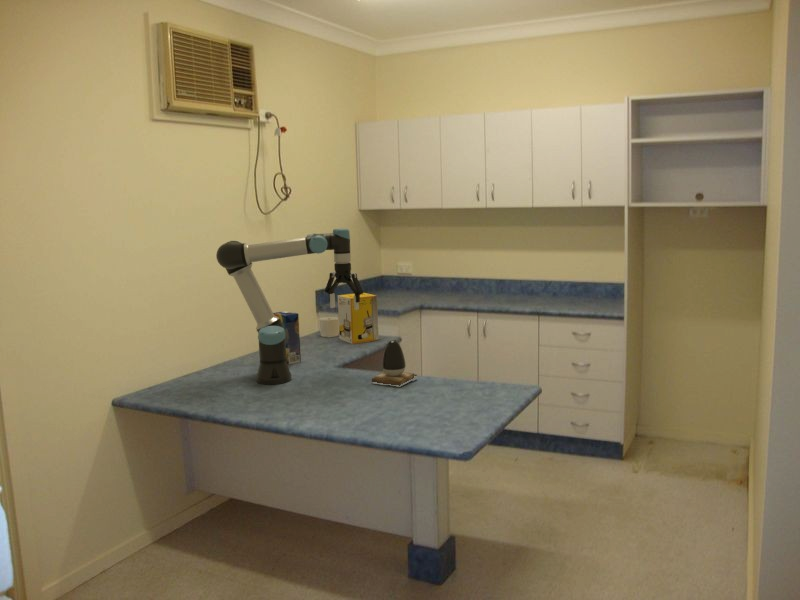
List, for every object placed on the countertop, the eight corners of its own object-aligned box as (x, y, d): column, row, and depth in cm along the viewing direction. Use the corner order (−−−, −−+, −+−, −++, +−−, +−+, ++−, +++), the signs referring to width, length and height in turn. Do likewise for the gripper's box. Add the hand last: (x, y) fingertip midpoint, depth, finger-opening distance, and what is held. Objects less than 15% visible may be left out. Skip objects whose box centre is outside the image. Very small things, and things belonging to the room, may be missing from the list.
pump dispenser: (407, 372, 318) (406, 338, 316) (403, 378, 308) (402, 343, 306) (385, 371, 321) (384, 337, 318) (379, 377, 310) (378, 342, 308)
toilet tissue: (333, 333, 429) (333, 316, 427) (343, 336, 419) (342, 318, 417) (317, 335, 423) (316, 318, 422) (326, 338, 413) (325, 321, 412)
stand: (399, 387, 305) (399, 380, 305) (372, 383, 313) (371, 377, 312) (416, 379, 317) (416, 373, 317) (389, 376, 324) (389, 369, 324)
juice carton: (300, 361, 358) (298, 313, 354) (288, 364, 353) (285, 315, 349) (286, 358, 367) (284, 311, 363) (274, 360, 362) (271, 313, 358)
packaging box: (378, 340, 404) (377, 295, 400) (352, 344, 396) (350, 298, 392) (365, 335, 418) (363, 292, 414) (339, 339, 410) (337, 295, 406)
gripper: (369, 262, 328) (371, 308, 332) (325, 261, 342) (327, 305, 345) (360, 264, 322) (362, 311, 325) (315, 262, 335) (318, 308, 338)
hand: (344, 308), depth 335 cm, fingers open, 13 cm apart
